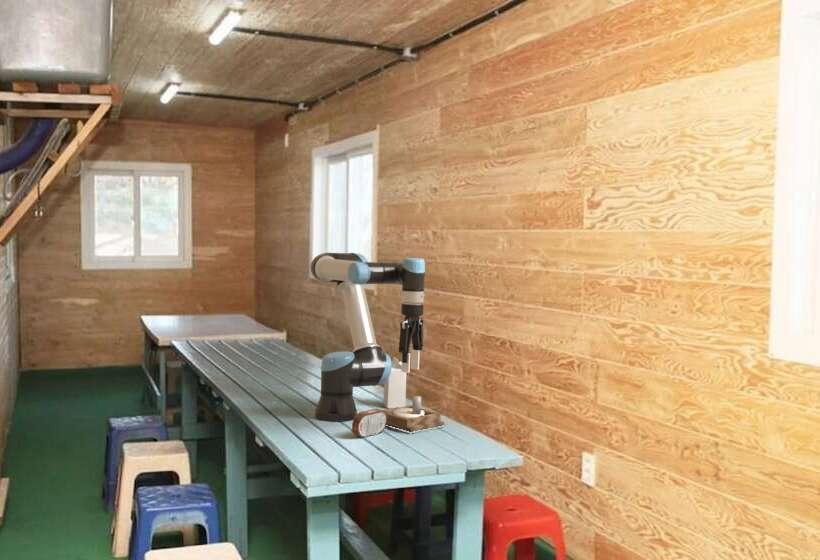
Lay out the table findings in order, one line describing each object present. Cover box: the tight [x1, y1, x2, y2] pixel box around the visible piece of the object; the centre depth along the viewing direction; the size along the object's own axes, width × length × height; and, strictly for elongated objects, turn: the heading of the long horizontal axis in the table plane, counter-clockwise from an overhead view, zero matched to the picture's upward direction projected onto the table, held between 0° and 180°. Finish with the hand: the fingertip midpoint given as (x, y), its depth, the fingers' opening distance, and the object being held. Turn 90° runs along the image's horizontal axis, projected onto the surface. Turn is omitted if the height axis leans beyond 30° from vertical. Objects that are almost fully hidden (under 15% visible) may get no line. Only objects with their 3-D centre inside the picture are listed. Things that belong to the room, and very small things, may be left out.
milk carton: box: [383, 356, 407, 409], centre depth 298 cm, size 7×7×19 cm
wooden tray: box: [381, 405, 445, 432], centre depth 270 cm, size 16×20×5 cm
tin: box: [351, 408, 387, 438], centre depth 254 cm, size 15×3×8 cm, turn 141°
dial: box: [393, 395, 424, 418], centre depth 270 cm, size 11×11×8 cm
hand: (410, 370), depth 260 cm, fingers open, 7 cm apart
